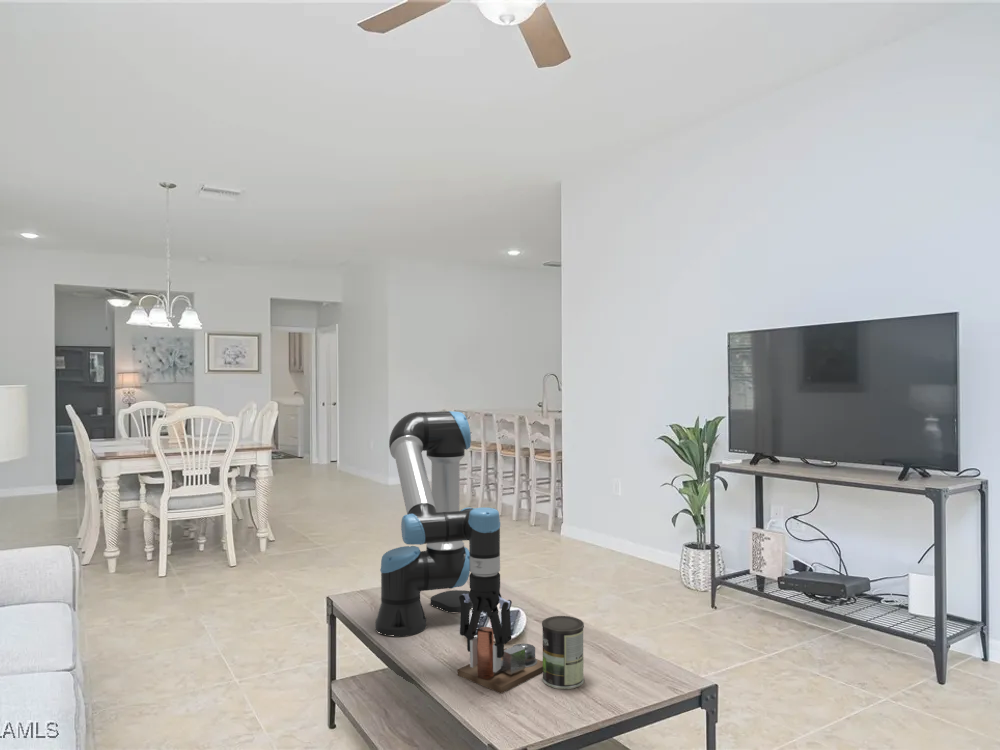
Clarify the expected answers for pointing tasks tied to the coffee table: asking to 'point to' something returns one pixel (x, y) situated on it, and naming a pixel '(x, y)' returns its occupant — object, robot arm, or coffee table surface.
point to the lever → (511, 659)
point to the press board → (502, 676)
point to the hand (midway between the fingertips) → (485, 667)
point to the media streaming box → (449, 600)
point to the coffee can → (563, 652)
